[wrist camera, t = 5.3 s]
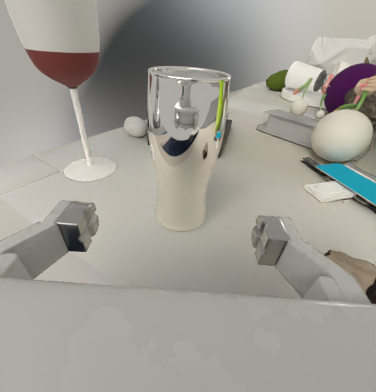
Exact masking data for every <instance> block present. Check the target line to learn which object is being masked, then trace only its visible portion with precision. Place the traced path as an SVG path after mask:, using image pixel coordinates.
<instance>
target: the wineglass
mask: <svg viewBox="0 0 376 392" xmlns="http://www.w3.org/2000/svg"><path fill="white" fill-rule="evenodd" d="M4 1H5V4H6V7H7V10H8V12H9V15H10V17H11V19H12V22H13V24H14V27H15V29H16V31H17V34H18V36H19V38H20V40H21V42H22V44H23V46H24V48H25V50H26V52H27V54H28V55H29V57H30V59H31V60H32V62H33V64H34V65H35V66H36V67H37V68H38V70H40V71H41V72H42V73H44V74H45V75H46V76H48V77H50V78H51V79H53V80H55V81H57V82H59V83H61V84H63V85H66V86H67V87H68V88H70V92H71V96H72V101H73V105H74V109H75V113H76V117H77V122H78V126H79V130H80V135H81V139H82V143H83V147H84V152H85V156H86V158H83V159H79V160H76V161H74V162H72V163H70V164H69V165H68V166H66V167H65V169H64V175H65V176H66V177H67V178H69V179H72V180H75V181H94V180H99V179H102V178H105V177H107V176H109V175H111V174H112V173H114V171H115V170H116V167H117V165H116V163H115V162H114V161H112V160H111V159H107V158H102V157H91V153H90V148H89V144H88V139H87V135H86V130H85V125H84V121H83V116H82V112H81V107H80V102H79V98H78V93H77V89H76V88H77V86H79V85H80V84H81V83H83V82H84V81H85V80H87V79H88V78H89V77H90V76H91V75H92V74H93V73H94V72H95V70H96V68H97V65H98V60H99V27H98V16H97V6H96V0H4Z"/></svg>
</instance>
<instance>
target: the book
mask: <svg viewBox="0 0 376 392" xmlns="http://www.w3.org/2000/svg"><path fill="white" fill-rule="evenodd" d="M264 113H267V114H270V116H269V119H268V122H267V123H264V124H261V125H258V126H257V127H256V128H257V129H258V130H260V131H263V132H266V133H268V134H271V135H274V136H277V137H280V138H283V139H286V140H288V141H291V142H294V143H297V144H300V145H303V146H305V147H308V148H311V149H313V148H312V145H311V135H312V131H313V129H314V127H315V126H316V124H317V123H318V122H319V121H320V120H316V119H312V118H309V117H305V116H301V115H299V116H296V115H293V114H292V113H290V112H286V111H282V110H268V111H264ZM369 149H370V146H368V147H367V149H366V150H365V151H364V152H363V153H361V154H360V155H359V156H357V157H355V158H353V159H351V160H350V161H355V160H358V159H359V158H361V157H362V156H363V155H364V154H365V153H366V152H367V151H368V150H369Z"/></svg>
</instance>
